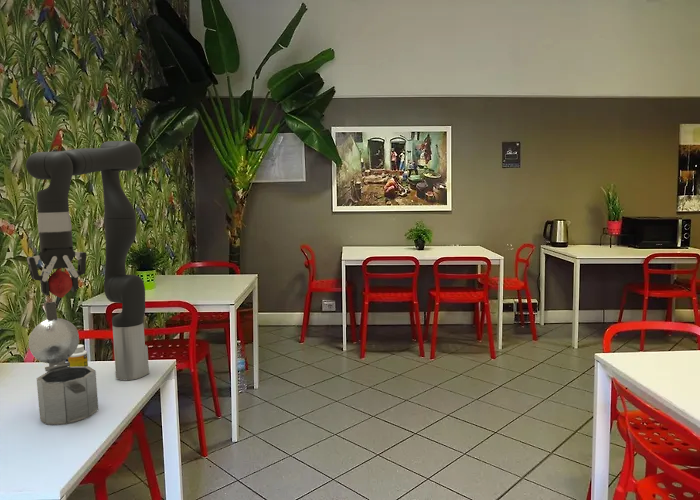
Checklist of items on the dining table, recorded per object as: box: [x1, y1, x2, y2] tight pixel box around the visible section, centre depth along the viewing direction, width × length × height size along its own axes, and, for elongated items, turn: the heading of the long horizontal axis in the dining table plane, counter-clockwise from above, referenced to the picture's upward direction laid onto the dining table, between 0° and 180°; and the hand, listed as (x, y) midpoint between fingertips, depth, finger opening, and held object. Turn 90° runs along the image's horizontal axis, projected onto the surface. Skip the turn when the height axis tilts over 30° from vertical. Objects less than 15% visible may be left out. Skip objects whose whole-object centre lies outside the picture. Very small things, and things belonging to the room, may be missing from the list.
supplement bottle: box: [67, 344, 89, 367], centre depth 170 cm, size 6×6×10 cm
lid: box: [28, 301, 80, 372], centre depth 146 cm, size 12×19×2 cm
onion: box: [47, 268, 72, 299], centre depth 138 cm, size 6×6×8 cm
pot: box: [36, 365, 99, 426], centre depth 140 cm, size 14×18×11 cm
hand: (60, 293), depth 138 cm, fingers closed on onion, 6 cm apart
